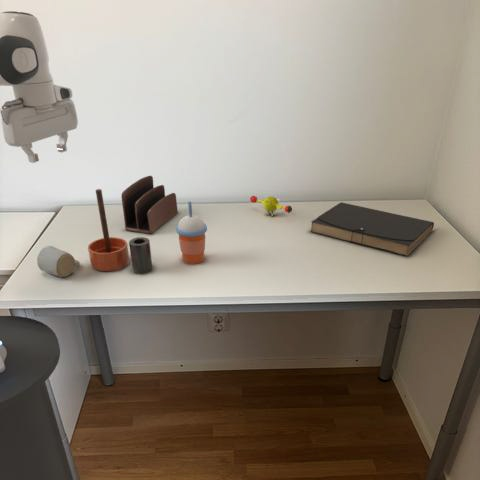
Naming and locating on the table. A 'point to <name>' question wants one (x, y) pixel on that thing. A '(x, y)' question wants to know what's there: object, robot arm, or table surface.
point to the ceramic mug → (56, 261)
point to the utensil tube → (141, 255)
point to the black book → (372, 228)
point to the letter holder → (147, 206)
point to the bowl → (108, 254)
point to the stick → (103, 220)
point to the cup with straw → (192, 237)
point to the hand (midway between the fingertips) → (48, 156)
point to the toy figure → (271, 204)
